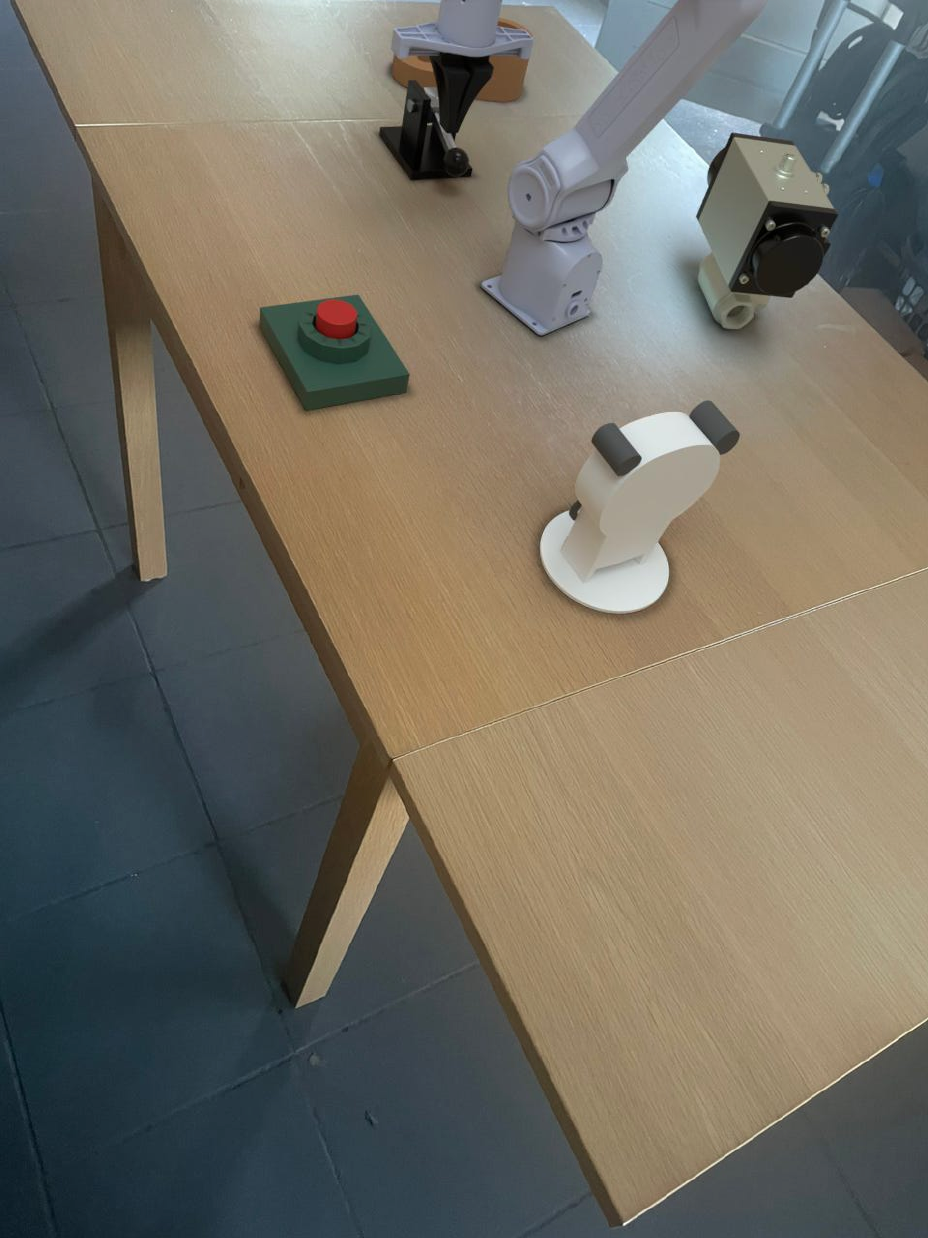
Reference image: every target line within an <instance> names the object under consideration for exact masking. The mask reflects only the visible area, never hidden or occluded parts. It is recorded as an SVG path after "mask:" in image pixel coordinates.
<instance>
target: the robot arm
mask: <svg viewBox="0 0 928 1238" xmlns="http://www.w3.org/2000/svg"><path fill="white" fill-rule="evenodd" d="M767 2H768V0H677V1H676V2H675V3H674V5H673V6H672V7H671V8H670V9H669V11H668V12H667V13H666V14H665V15H664V17H663V18H662V19H661V20H660V21H659V23H658V24H657V26H656V27H655V28H654V29H653V30H652V31H651V33H650V34H649V35H648V36H647V37H646V39H645V40H644V41H643V42H642V44H641V45H640V46H639V47H638V48H637V50H636V51H635V52H634V53H633V54H632V56H631V57H630V58H629V59H628V60H627V62H626V63H625V64H624V65H623V67H622V68H621V69H620V70H619V71H618V73H617V74H616V75H615V76H614V77H613V79H612V80H611V81H610V82H609V84H608V85H607V86H606V87H605V89H604V90H603V91H602V92H601V93H600V94H599V96H598V97H597V98H596V99H595V100H594V102H593V103H592V104H591V105H590V107H588V109H587V110H586V111H585V113H584V114H583V115H582V117H581V118H579V120H578V121H577V122H576V124H575V125H574V126H573V127H572V128H570V129H569V130H567V131H566V132H565V133H563V134H562V135H559V136H558V137H557V138H555V139H553V140H552V141H550V142H549V143H547V144H546V145H544V146H543V147H542V148H541V149H540V150H539V152H538V153H537V154H536V155H535V156H533V157H532V158H529V159H525V160H522V161H520V162H518V163H516V165H515V166H514V167H513V168H512V171H511V172H510V175H509V177H508V183H507V198H508V199H507V200H508V204H509V208H510V210H511V213H512V218H513V219H514V220H515V222H514V225H513V229H512V232H511V237H510V241H509V244H508V249H507V251H506V257H505V260H504V264H503V268H502V271H501V274H499V275H496V276H494V277H491V278H489V279H486V280H483V281H481V283H480V287H481V289H483V290H484V291H485V292H486V293H488V294H489V295H490V296H491V297H492V298H493V299H495V300H496V301H497V302H499V303H500V304H501V305H502V306H503V307H504V308H506V309H507V310H508V311H509V312H510V313H511V314H513V316H515V317H516V318H517V319H519V321H521V322H522V323H523V324H525V326H527V327H528V328H530V329H531V331H533V332H534V333H535V334H537V336H545V335H546V334H549V333H551V332H553V331H556V330H558V329H561V328H563V327H565V326H568V325H569V324H572V323H574V322H577V321H578V320H581V319H584V318H586V317H588V316H590V314H591V310H590V308H589V306H590V303H591V299H592V297H593V294H594V292H595V288H596V286H597V283H598V280H599V277H600V274H601V271H602V268H603V255H602V254H601V253H600V251H598V249H597V248H596V247H595V245H594V244H593V242H592V240H591V238H590V235H589V232H588V230H589V227H590V225H593V224H594V221H595V218H596V217H595V216H596V213H599V212H601V211H603V210H605V209H606V208H608V207H609V205H610V204H611V203H612V201H613V199H614V197H615V194H616V191H617V188H618V185H619V183H620V181H621V179H623V177H624V176H625V175H626V174H627V173H628V172H629V164H628V160H627V157H629V155H630V154H631V153H632V152H633V151H634V150H635V149H636V148H637V147H638V146H639V145H640V144H641V143H642V142H643V140H645V138H646V137H647V136H648V135H649V134H650V133H651V132H652V131H653V130H654V129H655V128H656V127H657V126H658V124H660V122H661V121H662V120H663V119H664V118H665V117H667V115H668V114H669V113H670V112H671V111H672V110H673V108H675V106H676V105H677V104H678V103H679V102H680V101H681V100H682V99H683V98H684V97H685V96H686V94H688V93H689V91H690V90H691V89H692V88H693V87H694V85H696V84H697V83H698V82H699V81H700V80H701V78H702V77H704V76H705V74H706V73H707V72H708V71H709V70H710V69H711V68H712V67H713V66H714V64H716V63H717V61H718V60H719V59H720V58H721V57H722V56H723V55H724V54H725V53H726V52H727V51H728V49H729V48H731V47H732V45H734V43H736V41H737V40H738V39H739V38H740V37H741V36H742V35H743V34H744V33H745V31H746V30H747V29H748V28H749V27H750V26H751V25H752V24H753V23H754V22H755V21H756V19H758V17H759V16H760V14H761V13H762V11H763V10H764V9H765V7H766V4H767ZM502 4H503V0H440V4H439V9H438V15H437V20H436V21H430V22H427V23H421V24H416V25H411V26H407V27H406V26H405V27H393V28H392V35H391V36H392V37H391V44H390V45H391V46H390V50H391V51H392V53H393V55H394V54H395V55H396V56H397V58H398V59H408V56H429V58H430V61H431V64H432V68H433V71H434V76H435V80H436V85H437V92H438V100H439V124H440V126H441V127H442V128H443V129H444V131H445V132H446V133H456V134H458V133H459V132H460V129H461V127H462V125H463V122H464V120H465V117H466V116H467V113H468V112H469V110H470V108H471V107H472V105H473V103H474V101H475V100H476V99H475V98H476V96H477V95H478V93H479V92H480V91H481V89H482V88H483V87H484V86H485V84H486V83H487V82H488V81H489V80H490V79H491V77H492V74H493V69H494V67H493V65H492V64H491V63H490V62H489V57H490V56H518V57H519V58H520V59H529V60H530V58H531V54H532V49H533V45H534V41H535V39H534V37H533V35H532V36H531V35H530V34H529V33H528V32H527V31H526V30H519V29H510V28H504V27H499V26H497V24H498V19H499V18H500V14H501V9H502Z"/></svg>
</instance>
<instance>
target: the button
mask: <svg viewBox="0 0 928 1238" xmlns="http://www.w3.org/2000/svg"><path fill="white" fill-rule="evenodd" d="M356 320H357V312H356V310H355V308H354V307H353V306H352V305H350V304H349V303H347V302H344V301H341V300H326V301H323V302H322V303H320V304H319V305H318V307H317V313H316V329H317V331H318V332H319V333H321V334H322V335H324V336H326V337H329V338H334V339H339V340H340V339H346V338H350V337H352V336H353V335H354V333H355V328H356Z"/></svg>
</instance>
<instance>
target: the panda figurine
mask: <svg viewBox="0 0 928 1238" xmlns="http://www.w3.org/2000/svg"><path fill="white" fill-rule="evenodd" d="M740 435H741V433H740V432H739V430H738V429H737V428H736V427H735V426H734V425H733V424H732V423H731V421H730V420H729V419H728V418H727V417H726V415H724V413H723V412H722V411H721V410H720V409H719V408H718V407H717V406H716V404H715V403H714V402H713V400H709V399H707V400H704V401H702V402H700V403H698V404H697V405H696V406H695V407H694V408H692V411H691V412H690V413H689V415H688V414H687V413H685V412H682V411H666V412H661V413H660V412H659V413H655V414H652V415H648V416H645V417H642V418H639V419H636V420H633V421H631V422H629V423H626V424H625V425H623V426H621V427H620V428H619V427H618V426H617V424H616V423H614V422H607V423H605V424H602V425H601V426H600V427H599V428H597V430H595V432H594V434H593V435H592V437H591V441H590V442H591V444H592V445H593V446H594V447H595V449H594V450H593V452H591V454H590V455H589V457H588V458H587V460H586V461H585V462H584V464H583V466H582V467H581V469H580V471H579V473H578V475H577V477H576V480H575V483H574V494H575V497H576V501H575V502H574V503H573V504H572V506H570V509H569V510H565V511H564V512H562V513H559V514H558V515H556V516H555V517H554V518H552V519H551V520H550V521H549V522H548V524H547V525H546V527H545V528H544V530H543V533H542V535H541V537H540V540H539V557H540V561H541V564H542V567H543V569H544V571H545V573H546V574H547V576H548V578H549V580H550V581H551V582H552V583H553V584H554V585H555V586H556V587H557V589H558V590H560V592H562V593H563V594H564V595H565V596H567V597H568V598H570V599H571V600H573V601H574V602H576V603H578V604H580V605H582V606H584V607H586V608H588V609H591V610H595V611H598V612H601V613H606V614H614V615H615V614H617V615H621V614H623V615H624V614H631V613H636V612H639V611H642V610H644V609H647V608H648V607H650V606H652V605H654V603H656V602H657V601H658V600H659V599H660V598H661V596H662V595H663V593H664V592H665V590H666V588H667V586H668V582H669V576H670V569H669V568H670V567H669V562H668V558H667V556H666V553H665V552H664V550H663V548H662V546H661V545H660V543H659V541H660V539H662V536H663V534H664V533H665V532H666V530H667V528H668V527H669V526H670V524H671V522H672V521H673V520H674V519H676V518H677V517H679V516H680V515H682V514H683V513H685V512H686V511H687V510H688V509H690V508H691V507H692V506H693V505H694V504H695V503H696V502H698V501H699V500H700V499H701V498H702V497H703V496H704V494H705V493H706V492H708V490H709V489H710V488H711V487H712V485H713V483H714V482H715V480H716V479H717V475H718V473H719V470H720V466H721V456H722V455H725V454H727V453H729V452H730V451H731V450H733V448H734V447H735V446H737V444H738V442H739V440H740V437H741V436H740Z"/></svg>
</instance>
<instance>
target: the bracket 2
mask: <svg viewBox="0 0 928 1238" xmlns="http://www.w3.org/2000/svg"><path fill="white" fill-rule="evenodd" d="M430 105H431V98H430V97H429V96H428V95H427V93H426V92H425V91H424V90H423V88H422V87H421V86H420V84H419V83H418V82H417V81H416V80H408V87H406V95H405V103H404V110H403V115H402V117H403V118H402V124H401V125H398V126H397V125H395V126H380V127H379V132H378V135H379V137H380V139H381V140H382V141H383V142H384V144H385V145H386V147H387V148H388V150H389V151H390V153H391V155H393V157H394V158H395V159H396V161H397V162H398V164H399V165H400V167H401V168H402V169H403V171H404V172H405V174H406V175H407V176H408V178H409V179H410V180H411V181H418V180H419V181H420V180H431V179H432V180H435V179H447V178H448V179H450V178H451V179H452V178H465V177H467V178H468V177H472V174H473V169H474V168H473V167H472V166H471V164H469V166H468V169H467V171H466V172H465V173H464V174H463V175H461V176H457V177H455V176H451V175H449V174H448V173H447V172H446V170H445V169H444V166H443V158H444V155H445V153H446V152H445V150H444V148H443V145H442V143H441V140H440V138H439V135H438V133H437V130H436V128H435V125H434V123H431V124H429V123H428V117H429V111H430ZM451 135H452V137H453V139H454V142H455V143H456V137H457V133H451Z"/></svg>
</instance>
